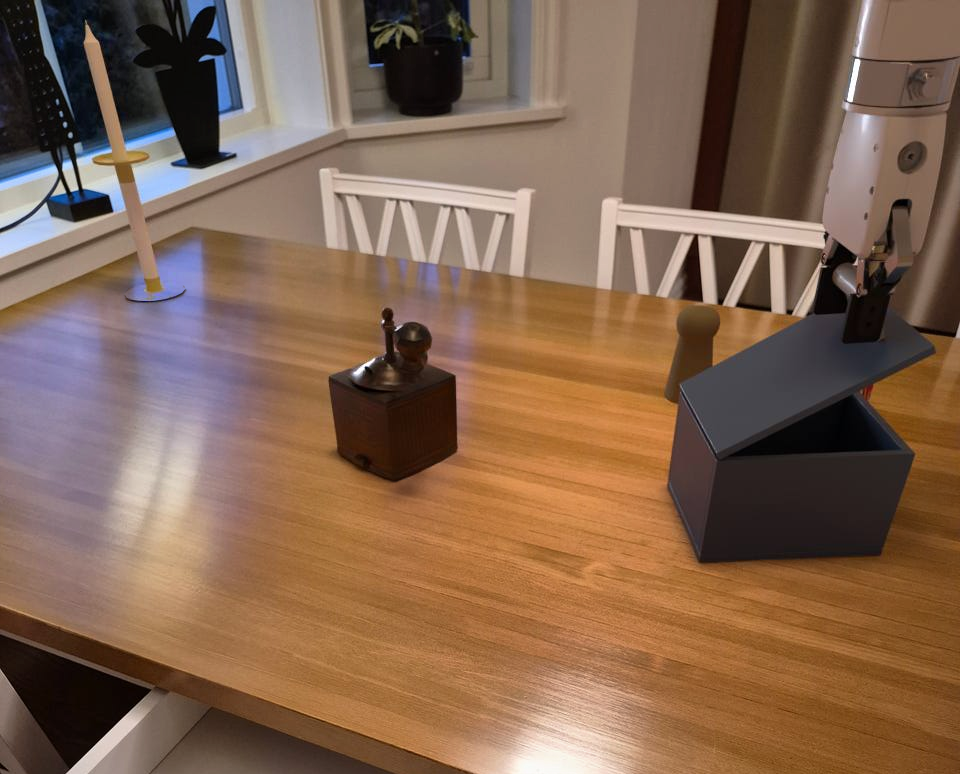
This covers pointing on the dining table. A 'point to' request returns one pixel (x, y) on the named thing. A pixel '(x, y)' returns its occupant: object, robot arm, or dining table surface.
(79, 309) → the dining table surface
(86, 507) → the dining table surface
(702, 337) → the brown pawn figure
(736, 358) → the lid
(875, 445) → the chest
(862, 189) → the robot arm
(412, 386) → the manual coffee grinder
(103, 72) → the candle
